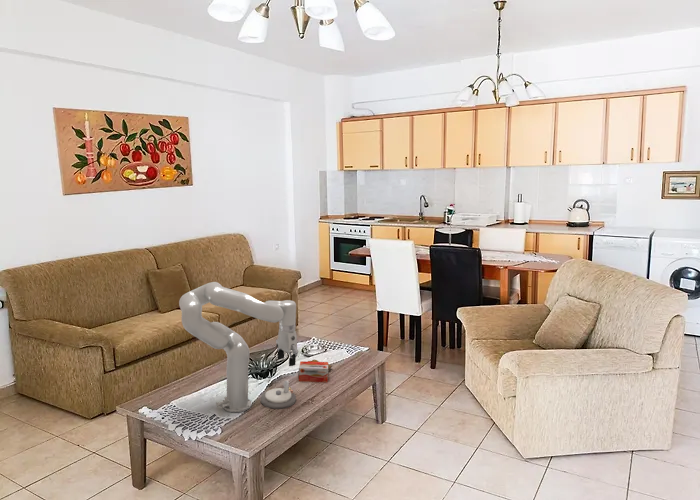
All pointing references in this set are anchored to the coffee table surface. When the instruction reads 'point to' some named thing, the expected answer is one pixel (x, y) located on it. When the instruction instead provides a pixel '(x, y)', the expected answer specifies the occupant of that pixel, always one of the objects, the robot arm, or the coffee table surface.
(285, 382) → the dial disc
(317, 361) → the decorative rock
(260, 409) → the coffee table surface
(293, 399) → the dial base
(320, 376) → the medicine box
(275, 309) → the robot arm
